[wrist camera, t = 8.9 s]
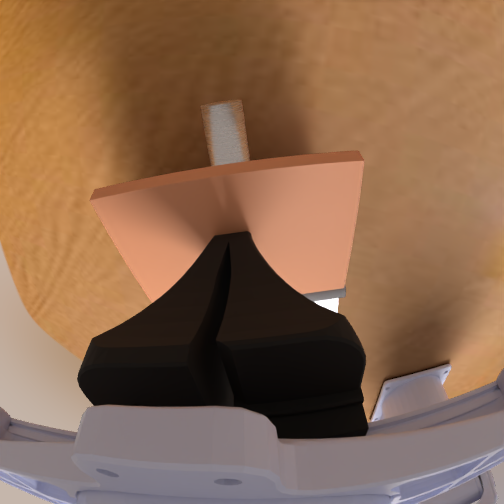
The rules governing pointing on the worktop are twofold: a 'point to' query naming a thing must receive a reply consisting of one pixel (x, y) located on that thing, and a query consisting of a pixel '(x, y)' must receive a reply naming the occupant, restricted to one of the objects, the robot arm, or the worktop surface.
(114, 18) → the worktop surface
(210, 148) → the hitch pin
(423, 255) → the worktop surface
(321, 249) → the plate
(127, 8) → the worktop surface
